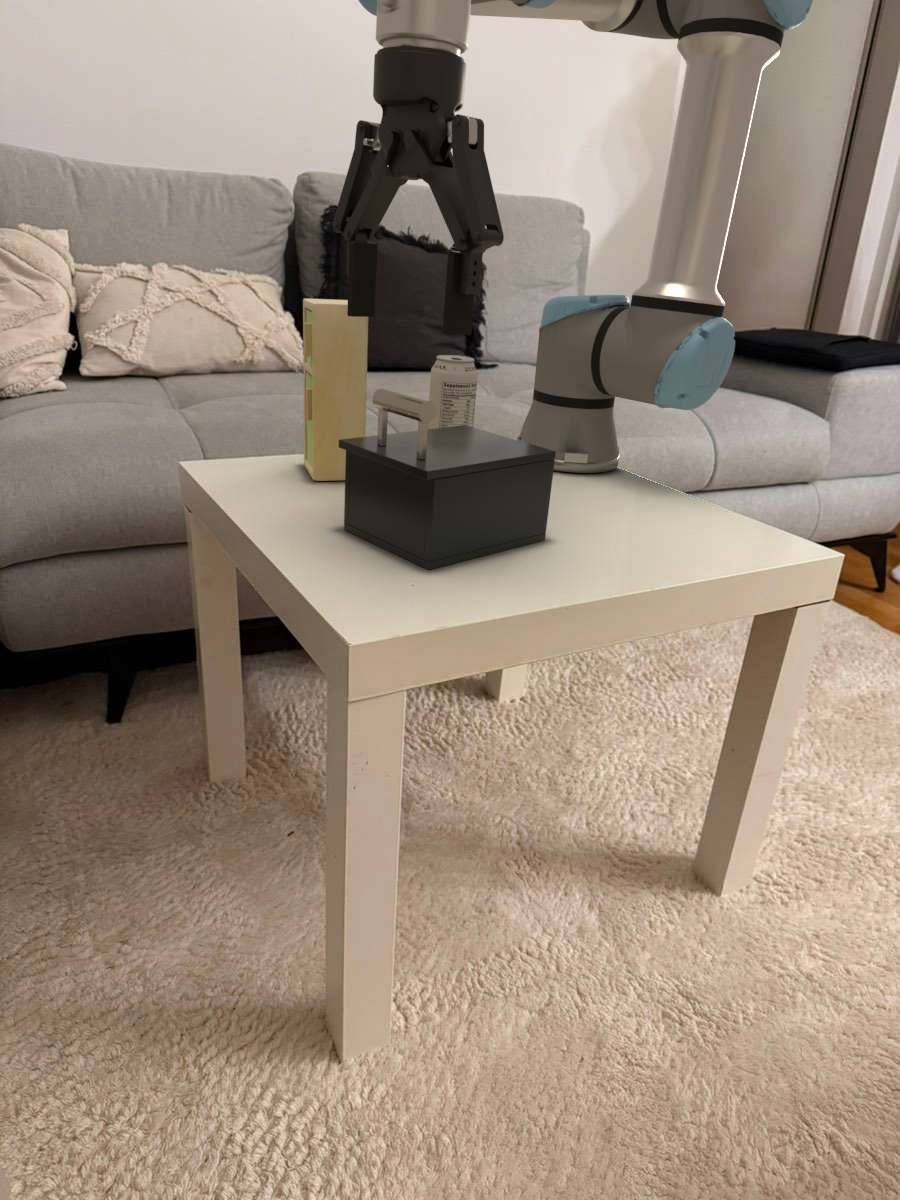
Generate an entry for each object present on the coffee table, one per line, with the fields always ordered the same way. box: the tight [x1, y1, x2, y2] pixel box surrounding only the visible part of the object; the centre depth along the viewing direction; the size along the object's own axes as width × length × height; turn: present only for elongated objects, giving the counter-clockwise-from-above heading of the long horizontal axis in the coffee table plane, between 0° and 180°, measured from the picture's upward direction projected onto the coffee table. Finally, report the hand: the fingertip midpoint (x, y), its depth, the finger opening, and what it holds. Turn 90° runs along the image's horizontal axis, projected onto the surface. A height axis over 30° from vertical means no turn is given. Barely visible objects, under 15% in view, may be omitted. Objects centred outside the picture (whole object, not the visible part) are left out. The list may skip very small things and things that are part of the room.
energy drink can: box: [428, 354, 479, 429], centre depth 111 cm, size 6×6×15 cm
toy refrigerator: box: [302, 298, 369, 482], centre depth 105 cm, size 8×7×21 cm
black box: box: [343, 450, 555, 571], centre depth 88 cm, size 17×14×9 cm
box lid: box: [339, 387, 556, 480], centre depth 85 cm, size 18×14×6 cm
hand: (406, 325), depth 77 cm, fingers open, 13 cm apart
